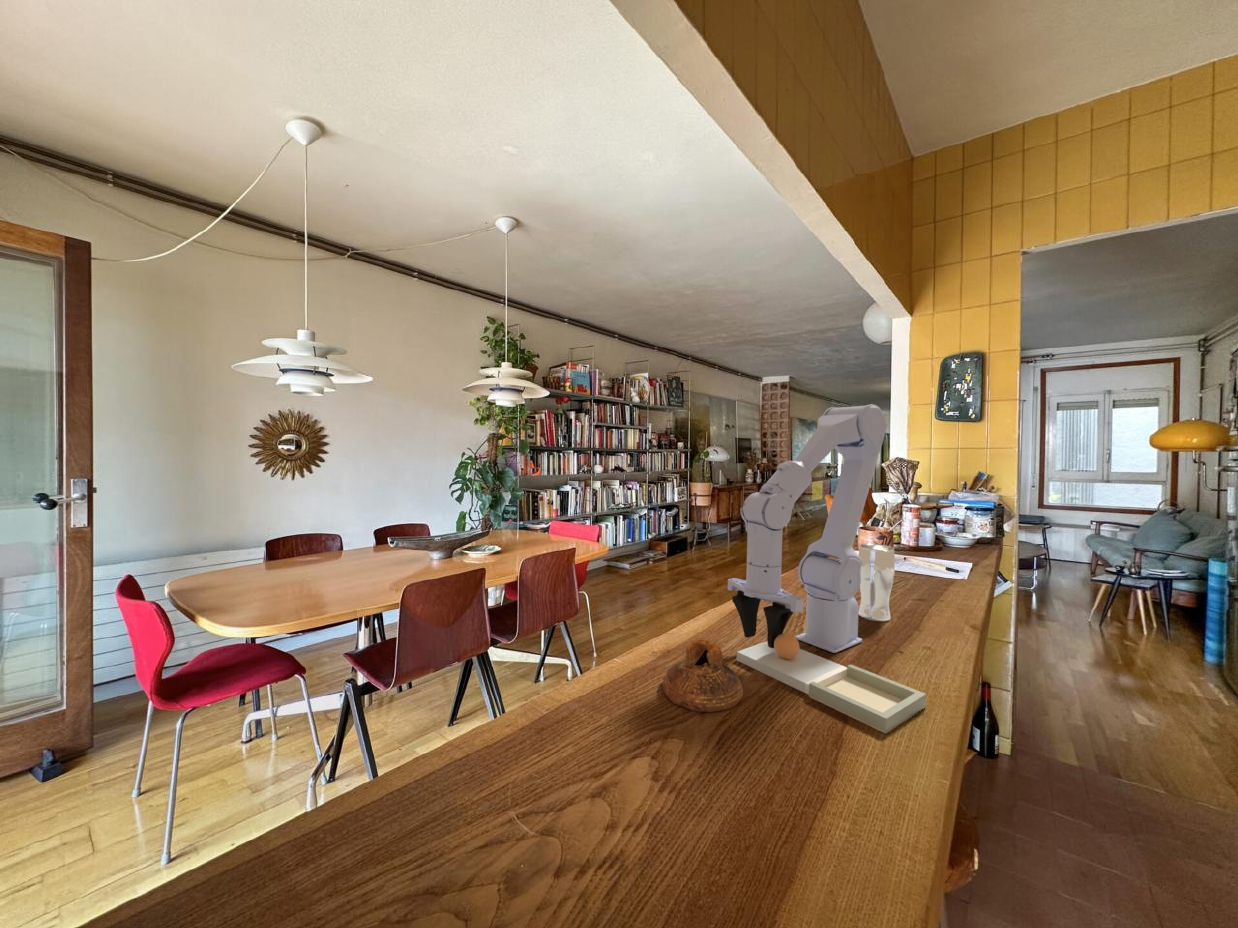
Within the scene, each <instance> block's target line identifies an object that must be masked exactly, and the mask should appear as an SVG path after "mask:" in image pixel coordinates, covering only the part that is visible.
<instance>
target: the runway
mask: <svg viewBox="0 0 1238 928" xmlns="http://www.w3.org/2000/svg"><path fill="white" fill-rule="evenodd" d="M736 661H737V662H739V663H741V664H743V665H746V666H748V667H749V668H752V669H754V670H756V671H758V672H760V673H762V674H764V675H766V676H769V677H771V678H772V679H775V680H777V681H779V682H781V683H783V684H785V685H787V686H790V687H791V688H794V689H796V690H797V691H800V692H801V693H804V694H806V695H808V696H809V683H811V682H816V683H818V684H820V685H822V686H824V687H826V686H828V685H830V684H832V683H834V682H836V681H838V680H841V679H843V678H845V677H847V666H844V665H842V664H839V663H837V662H834V661H832V660H829V659H826V658H825V657H822V656H819V655H817V654H814V653H811V652H810V651H807V650H804V649H801V648H800V649H799V653H798V654H797V656H796V657H794V658H792V659H784V658H782V657H780V656H779V655H778V654H777V653H776V651H775V649H774V648H770V647H768V641H767V640H766V641H764V642H761V643H757V644H755V645H752V646H750V647H746V648H743V649H740V650H738V651H736Z"/></svg>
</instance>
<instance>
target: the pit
mask: <svg viewBox="0 0 1238 928" xmlns="http://www.w3.org/2000/svg"><path fill="white" fill-rule="evenodd" d="M846 667H847V677H845V678H843V679H841V680H838V681H836V682H834V683H832V684H830V685H828V686H826V687H824V686H822V685H820V684H818V683H816V682H811V683H809V695H808V697H809V698H811V699H812V700H814V701H816V702H818V703H821V704H823V705H825V706H827V707H829V708H831V709H832V710H836V712H837V711H838V712H839V713H842V714H843V715H846V716H848V717H850V718H852V719H854V720H856V721H857V722H858V721H859V722H860V723H862V724H865V725H866V726H868V727H870V728H873V729H875V730H877V731H879V732H881V733H883V734H885V735H887V734H889V732H892V731H893V730H894V729H896V728H897V727H899V726H900V725H902V724H903V723H905V722H906V721H908V720H910V719H911V718H912V716H913V717H914V716H916V715H917V714H919V713H920V712H922V711H923V710H925V709H926V708H927V704H926V703H927V693H926V692H923V691H921V690H918V689H914V688H912V687H909V686H907V685H906V684H905V685H904V684H902V683H899V682H897V681H894V680H892V679H889V678H888V677H884V676H881V675H879V674H877V673H874V672H871V671H869V670H866V669H865V668H864V669H863V668H861V667H860V666H859V667H858V666H856V665H853V664H852V663H851V664H848V665H846ZM924 708H925V709H924ZM922 709H923V710H922ZM921 710H922V711H921ZM919 711H920V712H919ZM918 712H919V713H918ZM915 714H916V715H915ZM909 718H910V719H909Z"/></svg>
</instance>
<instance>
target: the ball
mask: <svg viewBox="0 0 1238 928" xmlns="http://www.w3.org/2000/svg"><path fill="white" fill-rule="evenodd" d="M774 649H775V651H776V653H777V654H778V655H779V656H780V657H782V658H784V659H792V658H794V657H796V656H797V654H798V653H799V649H801V647H800V643H799V640H798V639H796V636H795V635H792V634H791V633H787V632H783V634H780V635H778V636H777V637H776V639H775V641H774Z"/></svg>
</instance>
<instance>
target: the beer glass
mask: <svg viewBox="0 0 1238 928" xmlns="http://www.w3.org/2000/svg"><path fill="white" fill-rule="evenodd" d="M858 550H859V551H858V556H859V557H860V558H861V560H862V562H863V563H862V566H861V584H860V587H859V589H860V605H859V607H858V609H859V611H858V616H860V617H861V618H863V619H864V620H869V621H874V622H887V621H890V620H891V611H890V596H891V591H892V588H893V584H894V580H895V579H894V578H895V572H896V559H895V547H892V546H890V545H886V544H877V543H861V544H860V545H859V549H858Z"/></svg>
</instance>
